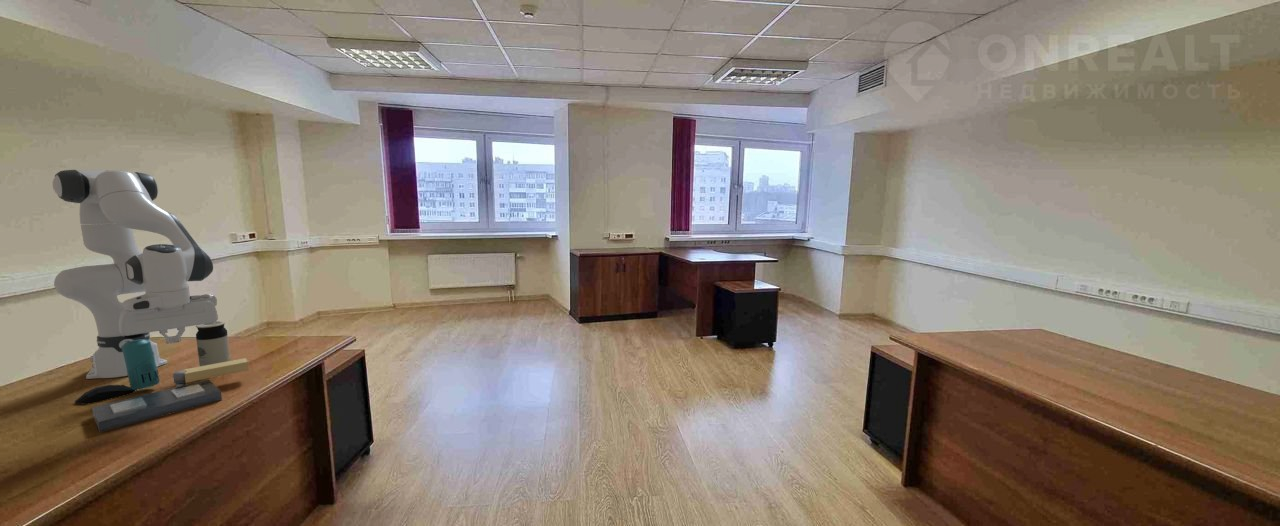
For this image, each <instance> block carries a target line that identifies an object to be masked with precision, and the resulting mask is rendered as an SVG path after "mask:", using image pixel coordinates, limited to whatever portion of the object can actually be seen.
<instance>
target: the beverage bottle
mask: <svg viewBox="0 0 1280 526" xmlns="http://www.w3.org/2000/svg"><path fill="white" fill-rule="evenodd" d="M141 336H144V333H142V334H135V335H129V336H125V335H124V339H131V338H137V337H141ZM149 340H150V339H149ZM149 340H146V339H139V340H133V341H129V342H126V343H125V344H124V345H123V346H122V347H121V348H122V351H123V355H124V359H125V364H126V368H127V374H128V376H126V377H128V382H129V385H130V386H129V387H131V388H132V389H141V390H143V388H144V389H147V388H150V387H153V386H157V385H158V384H159V383H160V376H159V371H158V367H156V366H157V365H156V363H155V359H154V355H153V354H154V353H153V350H152V347H151V342H150V341H151V340H150V341H149Z"/></svg>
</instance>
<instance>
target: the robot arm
mask: <svg viewBox="0 0 1280 526" xmlns="http://www.w3.org/2000/svg"><path fill="white" fill-rule="evenodd" d="M52 188H53V190H54V193H56V195H57V197H58V198H59V199H61V200H63V201H64V202H68V203H74V204H79V224H80V229H81V236H82V241H83V246H84V247H85V248H86V249H87V250H89V251H91V252H93V253H96V254H101V255H104V256H109V257H110V258H111V259H112V260H113V263H109V264H97V265H95V264H94V265H84V266H77V267H74V268H73V267H72V268H69V269H63V270H61V271H60V272H59V273H58V274H57V275H56V277H55V278H54V281H53V287H54V289H55V290H56V292H57V293H58V294H59V295H61V296H62V297H64V298H67V299H69V300H72V301H74V302H75V301H76V302H78V303H79V304H81V305H83V306H84V307H86V308H87V309H88V311H90V312H91V314H92V316H93V317H94V321H95V324H96V329H97V330H96V331H97V334H98V335H97V336H96V343H97V346H98V349H97V350H96V351H94V353H93V354H92V355H90V356H89V359H90V363H92V365H91V368H90V370H89V372H88V373H87V374H86V375H85V376H86V377H85V379H86V380H89V379H90V380H91V379H113V378H121V377H127V376H128V374H127V368H126V364H125V359H124V355H123V351H122V348H121V347H122V346H123V345H124V344H125V343H126V342H129V341H133V340H139V339H146V340H149V341H150V342H151V347H152V350H153V353H154V354H153V355H154V359H155V363H156V365H157V366H156V368H158V367H160V366H163V365H165V364H168V360H167V359H164V358H161V357H160V353H159V348H158V344H157V343H156V342H154V341H152V340H151V336H150V335H151V333H153V332H159V334H160V335H161V336H163V338H165V343H166V344H167V345H168V344H169V345H170V344H173V343H181V341H182V336H183V334H184V333H185V331H186V328H187V327H193V326H194V327H195V326H196V325H201V324H208V323H214V322H216V321H219V315H218V311H217V309H216V306H217V304H218V300H217V297H216V296H215V295H211V294H210V293H209V294H208V293H207V294H201V295H200V294H199V295H190V285H189V284H188V282H202V281H204V280H205V279H206V278H208V277H209V276H210V275H211V274H212V273H213V271H214V265H213V261H212V259H211V257H210V256H209V255H208V254H207V253H206V252H205V251H204V250H203V249H202V248H201V246H199V245H198V243H197V242H196V241H195V240H194V238H193V237H192V236H191V234H190V233H189V232H188V230H187V229H186V228H185V226H184V225H183V224H182V222H181V221H180V220H179V219H178V218H177V216H176V215H174V214H173V213H171V212H169V211H166V210H164V209H163V208H161V207H159V206H158V205H157V204H156V203H155V202H154V200H156V199H157V197H158V194H159V186H158V183H157V182H156V179H155V178H154V177H153V176H151V175H150V174H148V173H145V172H144V173H143V172H138V171H135V172H130V171H125V170H121V169H120V170H119V169H105V170H102V169H101V170H100V169H99V170H96V169H95V170H94V169H92V170H88V169H83V170H81V169H80V170H77V169H64V170H59V171H58V172H57V173H55V175H54V178H53V180H52ZM133 230H139V231H142V232H143V231H144V232H150V233H153V234H154V233H155V234H159V235H161V236H163V237H165V238H167V239H168V240H169V242H171V243H172V244H167V243H162V244H161V243H159V244H151V245H146V246H145V247H144V248H143V250H142V251H141V250H140V249H139V247H138V245H137V242H136V240H135V235H134V231H133ZM143 292H145V293H144V294H141V295H138V296H135V297H131V298H129V299H126V300H124V301H123V302H121V301H120V300H119V299H118V296H119V295H128V294H136V293H143ZM173 329H174V330H175V329H176V330H177V331H178V332H177V333H176V335H173V336H172V335H171V336H170V335H169V336H168V335H167V334H168V331H169V330H173ZM142 333H144V336H141V337H137V338H131V339H124V335H125V336H129V335H135V334H142Z"/></svg>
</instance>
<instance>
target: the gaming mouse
mask: <svg viewBox="0 0 1280 526" xmlns="http://www.w3.org/2000/svg"><path fill="white" fill-rule="evenodd" d="M135 390H136V391H138V390H137V389H132V388H131V386H128V385H124V384H108V385H107V384H106V385H102V386H98V387H94V388H92V389H90V390H88V391H85V392H84V393H83V394H82V395H80V396H79V397H78V398H77V399H76V400H75V401H74V403H75V404H76V405H89V404H88V403H90V404H93V403H94V402H95V403H100V402H103V400H104V401H106V400H107V399H108V400H111V398H112V399H116V398H119V396H121V397H124V396H123V395H125V396H128V395H131V394H133V393H134V392H136V391H135ZM130 393H131V394H130ZM127 394H128V395H127ZM115 397H116V398H115ZM95 403H94V404H95Z"/></svg>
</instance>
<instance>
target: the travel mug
mask: <svg viewBox="0 0 1280 526" xmlns="http://www.w3.org/2000/svg"><path fill="white" fill-rule="evenodd" d="M225 324H226V321H223V320H217V321H216V322H214V323H208V324H201V325H195V328H196V329H197V332H196V333H195V339H196V347H197V348H196V349H197V355H198V357H197V358H198V363H199V367H200V366H205V365H211V364H216V363H222V362H227V361H231V356H230V355H231V354H230V353H231V352H230V343H229V336H228V330H227V328H226V327H225Z"/></svg>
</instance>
